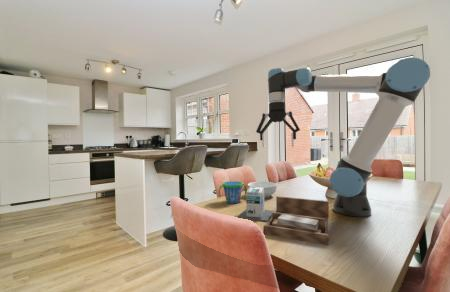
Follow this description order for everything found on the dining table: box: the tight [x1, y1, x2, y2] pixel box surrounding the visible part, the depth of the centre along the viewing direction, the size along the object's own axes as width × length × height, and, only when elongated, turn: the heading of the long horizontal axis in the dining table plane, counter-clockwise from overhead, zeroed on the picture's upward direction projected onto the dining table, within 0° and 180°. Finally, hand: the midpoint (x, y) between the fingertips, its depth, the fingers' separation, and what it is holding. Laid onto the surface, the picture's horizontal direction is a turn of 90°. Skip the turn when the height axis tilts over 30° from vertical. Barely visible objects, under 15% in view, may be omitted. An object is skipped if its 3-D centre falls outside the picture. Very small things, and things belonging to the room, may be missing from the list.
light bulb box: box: [245, 187, 265, 218], centre depth 101 cm, size 11×7×11 cm, turn 164°
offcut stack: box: [272, 214, 321, 233], centre depth 82 cm, size 16×6×5 cm, turn 61°
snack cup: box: [217, 180, 248, 204], centre depth 122 cm, size 16×10×10 cm
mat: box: [237, 208, 276, 223], centre depth 101 cm, size 13×13×1 cm
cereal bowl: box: [247, 181, 278, 199], centre depth 134 cm, size 17×17×7 cm
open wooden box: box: [263, 195, 330, 246], centre depth 87 cm, size 21×23×8 cm
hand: (278, 147), depth 110 cm, fingers open, 13 cm apart
